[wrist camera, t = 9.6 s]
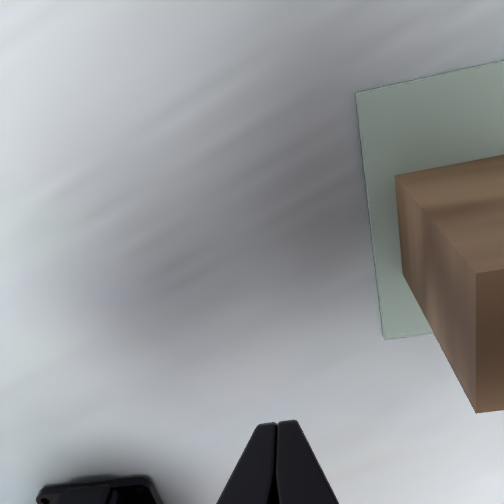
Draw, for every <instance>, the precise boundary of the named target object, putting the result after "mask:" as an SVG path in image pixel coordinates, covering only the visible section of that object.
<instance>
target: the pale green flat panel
mask: <svg viewBox="0 0 504 504" xmlns="http://www.w3.org/2000/svg"><path fill="white" fill-rule="evenodd" d="M355 95H356V104H357V113H358V121H359V130H360V139H361V148H362V156H363V165H364V174H365V183H366V191H367V200H368V209H369V218H370V226H371V235H372V244H373V253H374V262H375V270H376V279H377V288H378V297H379V305H380V314H381V323H382V332H383V337H384V340H388V339H395V338H402V337H409V336H416V335H423V334H430V333H433V331H432V329H431V327H430V325H429V323H428V322H427V320H426V318H425V316H424V314H423V312H422V310H421V308H420V306H419V304H418V303H417V301H416V299H415V297H414V295H413V293H412V291H411V289H410V287H409V285H408V284H407V282H406V280H405V278H404V276H403V274H402V262H401V250H400V238H399V226H398V213H397V201H396V189H395V177H394V176H395V175H400V174H405V173H410V172H415V171H421V170H426V169H431V168H436V167H441V166H447V165H452V164H457V163H462V162H467V161H473V160H478V159H483V158H488V157H494V156H499V155H504V60H501V61H497V62H492V63H488V64H483V65H479V66H474V67H470V68H465V69H461V70H456V71H452V72H447V73H443V74H438V75H434V76H429V77H425V78H420V79H416V80H411V81H407V82H402V83H398V84H393V85H389V86H384V87H380V88H375V89H371V90H366V91H362V92H357V93H355Z"/></svg>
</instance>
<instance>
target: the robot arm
mask: <svg viewBox="0 0 504 504" xmlns="http://www.w3.org/2000/svg"><path fill="white" fill-rule="evenodd" d="M36 501H37V503H38V504H162V503H161V501H160V499H159V497H158V495H157V493H156V491H155V489H154V486H153V484H152V483H151V481H150V480H148V479H146V478H133V479H124V480H115V481H106V482H97V483H88V484H79V485H70V486H61V487H52V488H44V489H41V490H40V492H39V494H38V495H37V497H36ZM216 504H339V502H338V500H337V498H336V496H335V494H334V492H333V490H332V488H331V486H330V484H329V482H328V480H327V478H326V476H325V474H324V472H323V470H322V468H321V467H320V465H319V463H318V461H317V459H316V457H315V455H314V453H313V451H312V449H311V447H310V445H309V443H308V441H307V439H306V437H305V435H304V433H303V431H302V429H301V427H300V425H299V423H298V421H296V420H288V421H281V422H279V423H278V425H277V423H275V422H272V423H264V424H259V425H258V426H257V427H256V428H255V430H254V432H253V434H252V436H251V438H250V440H249V442H248V444H247V446H246V448H245V449H244V451H243V453H242V455H241V457H240V459H239V461H238V463H237V465H236V467H235V469H234V471H233V472H232V474H231V476H230V478H229V480H228V482H227V484H226V486H225V488H224V490H223V492H222V493H221V495H220V497H219V499H218V501H217V503H216Z"/></svg>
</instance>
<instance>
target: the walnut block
mask: <svg viewBox="0 0 504 504" xmlns="http://www.w3.org/2000/svg"><path fill="white" fill-rule="evenodd" d="M394 177H395V189H396V201H397V213H398V226H399V238H400V250H401V262H402V274H403V276H404V278H405V280H406V282H407V284H408V285H409V287H410V289H411V291H412V293H413V295H414V297H415V299H416V301H417V303H418V304H419V306H420V308H421V310H422V312H423V314H424V316H425V318H426V320H427V322H428V323H429V325H430V327H431V329H432V331H433V333H434V335H435V337H436V339H437V341H438V342H439V344H440V346H441V348H442V350H443V352H444V354H445V356H446V358H447V359H448V361H449V363H450V365H451V367H452V369H453V371H454V373H455V375H456V377H457V378H458V380H459V382H460V384H461V386H462V388H463V390H464V392H465V394H466V396H467V397H468V399H469V401H470V403H471V405H472V407H473V409H474V411H475V413H483V412H491V411H500V410H504V155H499V156H494V157H488V158H483V159H478V160H473V161H467V162H462V163H457V164H452V165H447V166H441V167H436V168H431V169H426V170H421V171H415V172H410V173H405V174H400V175H395V176H394Z"/></svg>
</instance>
